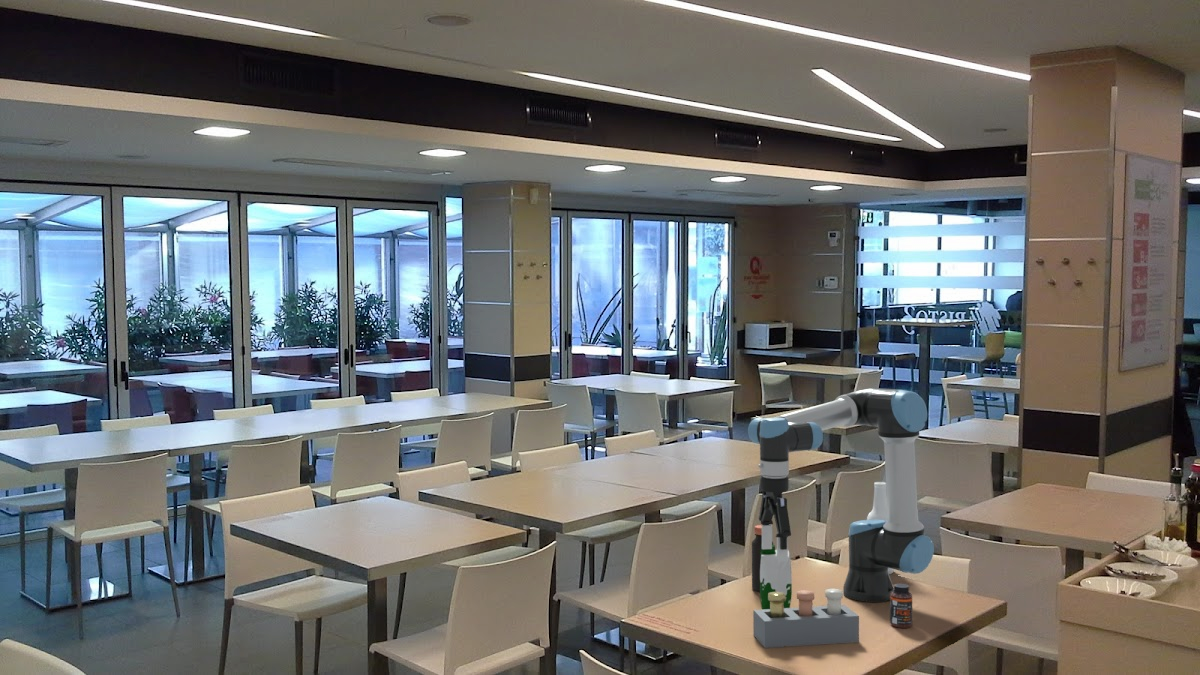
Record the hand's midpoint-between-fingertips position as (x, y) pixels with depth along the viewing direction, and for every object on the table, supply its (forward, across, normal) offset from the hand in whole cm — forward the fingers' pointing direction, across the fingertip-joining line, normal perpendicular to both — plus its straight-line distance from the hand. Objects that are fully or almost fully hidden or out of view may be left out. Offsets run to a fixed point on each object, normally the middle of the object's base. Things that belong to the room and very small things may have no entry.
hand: (774, 555), depth 269 cm
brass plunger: (+18, +1, 0) cm, 18 cm away
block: (+23, 0, +8) cm, 24 cm away
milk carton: (+23, -22, +7) cm, 32 cm away
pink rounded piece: (+18, +1, +8) cm, 20 cm away
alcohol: (+23, -60, +56) cm, 85 cm away
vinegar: (+23, -47, +11) cm, 53 cm away
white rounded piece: (+18, 0, +16) cm, 24 cm away
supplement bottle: (+23, -6, +38) cm, 45 cm away
